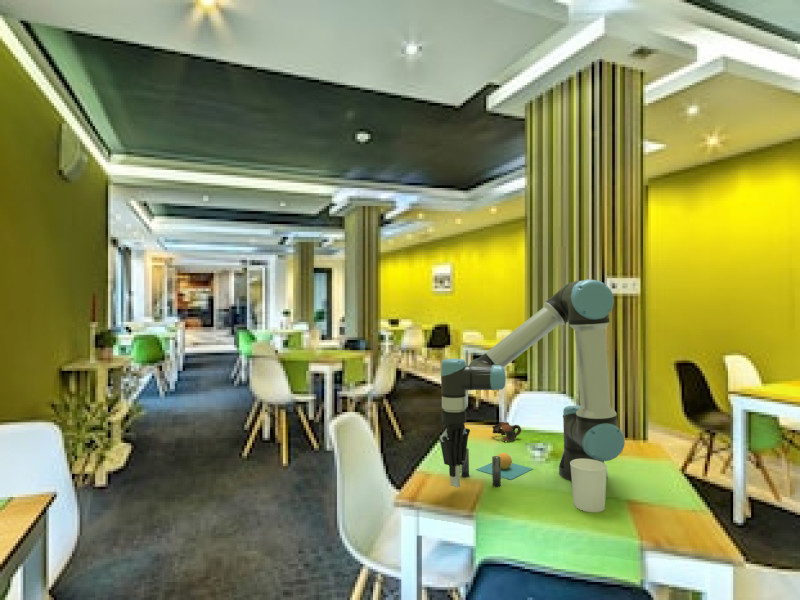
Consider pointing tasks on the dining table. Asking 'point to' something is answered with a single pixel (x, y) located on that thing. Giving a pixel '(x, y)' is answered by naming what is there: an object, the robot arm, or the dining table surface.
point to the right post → (496, 471)
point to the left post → (465, 465)
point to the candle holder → (588, 484)
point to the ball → (505, 460)
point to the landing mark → (507, 470)
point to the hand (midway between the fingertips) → (455, 485)
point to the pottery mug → (507, 431)
